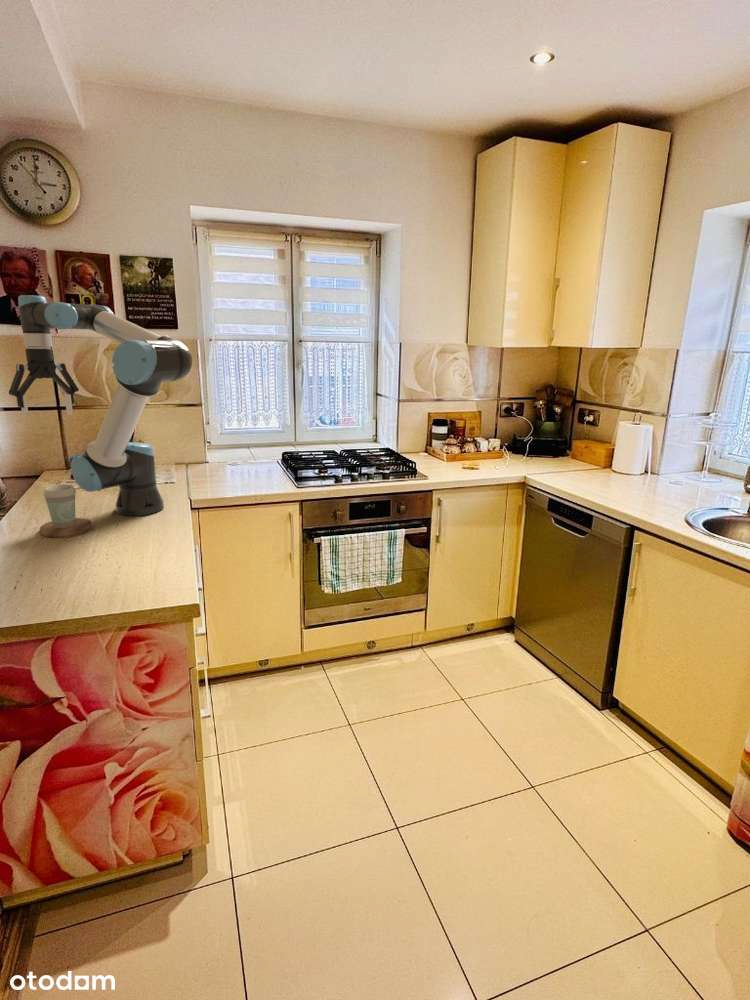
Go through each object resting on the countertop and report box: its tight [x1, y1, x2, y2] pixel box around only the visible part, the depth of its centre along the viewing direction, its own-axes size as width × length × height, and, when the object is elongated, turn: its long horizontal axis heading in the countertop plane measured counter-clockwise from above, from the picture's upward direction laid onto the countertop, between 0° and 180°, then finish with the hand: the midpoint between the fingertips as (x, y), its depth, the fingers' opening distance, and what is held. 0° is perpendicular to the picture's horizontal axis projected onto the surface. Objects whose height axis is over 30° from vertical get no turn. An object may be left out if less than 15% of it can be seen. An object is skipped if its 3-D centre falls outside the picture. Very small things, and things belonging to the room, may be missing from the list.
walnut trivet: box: [39, 517, 93, 539], centre depth 169 cm, size 14×14×2 cm
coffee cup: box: [43, 483, 77, 529], centre depth 167 cm, size 9×8×12 cm
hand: (48, 415), depth 180 cm, fingers open, 13 cm apart
